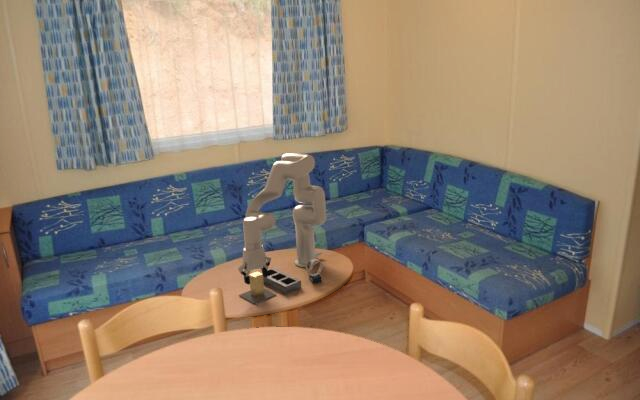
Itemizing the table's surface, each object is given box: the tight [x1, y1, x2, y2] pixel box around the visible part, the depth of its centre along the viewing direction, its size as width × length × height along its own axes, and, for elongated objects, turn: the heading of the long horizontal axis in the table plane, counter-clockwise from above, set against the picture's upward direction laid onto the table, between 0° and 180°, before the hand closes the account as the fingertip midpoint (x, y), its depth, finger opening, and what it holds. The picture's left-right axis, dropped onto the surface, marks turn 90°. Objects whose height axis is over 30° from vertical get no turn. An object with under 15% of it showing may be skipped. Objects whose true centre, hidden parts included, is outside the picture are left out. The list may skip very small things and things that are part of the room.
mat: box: [239, 287, 277, 305], centre depth 218 cm, size 12×12×1 cm
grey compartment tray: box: [258, 267, 302, 295], centre depth 228 cm, size 22×9×4 cm, turn 43°
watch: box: [305, 258, 324, 285], centre depth 228 cm, size 6×8×11 cm
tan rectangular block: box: [248, 271, 265, 298], centre depth 216 cm, size 4×4×10 cm
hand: (256, 280), depth 216 cm, fingers open, 9 cm apart
